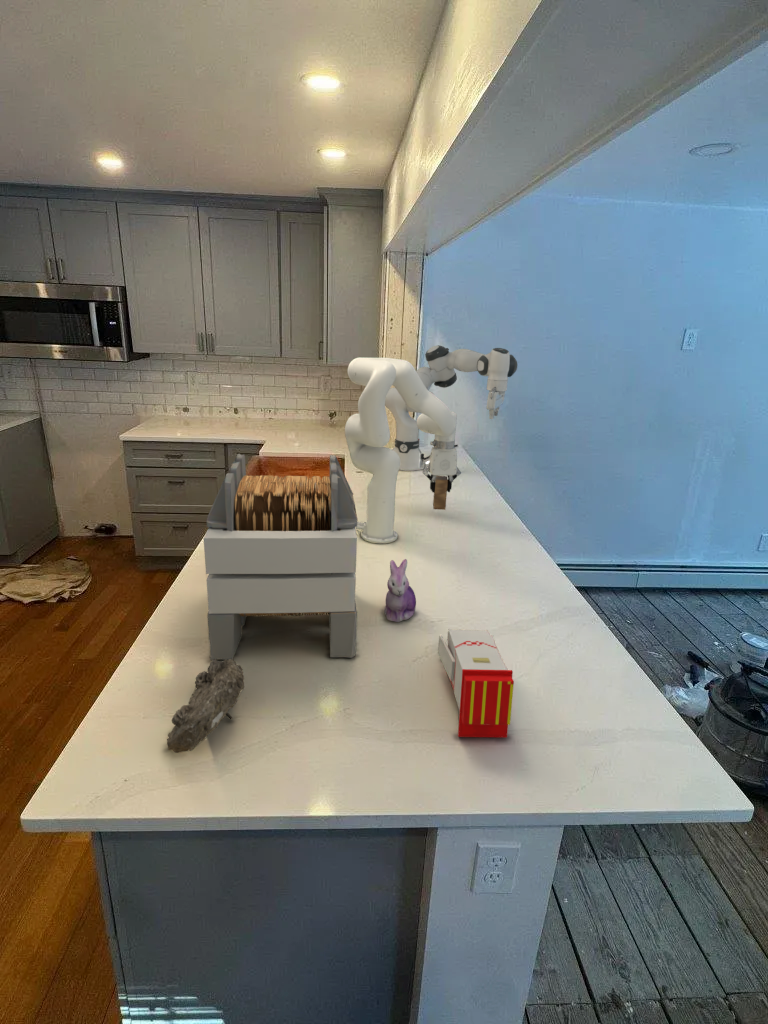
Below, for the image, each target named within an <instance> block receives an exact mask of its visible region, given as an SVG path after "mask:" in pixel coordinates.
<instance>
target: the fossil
mask: <svg viewBox="0 0 768 1024" xmlns="http://www.w3.org/2000/svg"><path fill="white" fill-rule="evenodd" d="M243 670H244V669H243V667H242V665H240V664H237V662H236V661H235V660H234V659H233V660H232V659H223V661H222V660H218V659H215V660H210V663H209V665H208V666H207V671H201V672H199V673H198V674H197V675H196V676H195V680H194V684H195V685H194V687H195V689H194V690H193V693H192V694H191V697H190V698H189V700H188V704H184V705H182V706H181V707H180V709H177V710H176V711H175V713H174V715H173V716H172V718H171V723H172V724H173V727H172V730H171V731H170V732H168V734H167V738H166V741H167V742H166V745H167V749H168V750H169V751H173V752H174V753H176V754H178V753H182V752H188V751H189V752H192V751H193V750H195V748H196V747H197V746H199V744H200V743H201V742H203V741H204V740H205V739H206V738H207V737H208V736H209V735H210V734H211V733H212V732H214V730H215V729H217V727H218V726H219V724H220V722H221V721H222V720H223V719H224V718H225V716H226V717H227V719H229V720H233V717H232V715H230V714H229V710H230V709H231V708H234V706H235V704H236V703H237V702H238V699H239V697H240V695H241V693H242V691H243V690H245V689H244V688H245V675H244V671H243Z"/></svg>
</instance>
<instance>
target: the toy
mask: <svg viewBox="0 0 768 1024" xmlns="http://www.w3.org/2000/svg"><path fill="white" fill-rule="evenodd" d="M446 640H447V643H446V641H445V639H444V636H443V635H442V634H439V637H438V646H437V656H438V657H439V659H440V661H441V663H442V666H443V668H444V670H445V672H446V674H447V677H448V679H449V681H450V684H451V687H452V690H453V693H454V697H455V701H456V705H457V708H458V711H459V714H458V715H459V716H458V730H457V731H458V732H457V737H458V738H508V731H509V726H510V725H511V717H512V707H513V697H514V696H513V695H514V684H515V680H514V679H513V673H514V671H513V670H512V669H508V667H507V665H506V662H505V661H504V659H503V658H502V655H501V653H500V651H499V649H498V647H497V643H496V639H495V637H494V635H493V634H491V632H490V631H489V629H467V628H466V629H465V628H463V629H461V628H460V629H459V628H448V630H447V639H446Z"/></svg>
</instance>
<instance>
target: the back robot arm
mask: <svg viewBox="0 0 768 1024" xmlns="http://www.w3.org/2000/svg"><path fill="white" fill-rule="evenodd" d="M424 355H425V360H426V362H427V363H428V364H427V365H428V367H427V366H421V367H419V368H417V370H416V372H417V374H418V375H419V377H420V379H421V380H422V382H423V384H424V385H425V387H426V389H427V390H428V391H430V392H431V393H432V394H434V392H433V391H431V390H430V389H431V387H432V386H433V385H434V386H435V387H439V388H443V389H445V388H449V387H451V386H453V385H454V384H455V383H456V382H457V380H458V377H457V372H455V370H456V371H459V372H461V373H473V372H475V373H476V372H477V373H478V374H479V375H480V376H482V377H487V383H486V390H487V391H488V395H487V399H486V400H487V401H486V410H488V415H489V417H488V419H489V420H494V418H495V417H498V416H499V411H500V407H501V406H502V405H503V403H504V401H505V395H506V392H507V390H508V382H509V378H511V377H512V376H514V374H515V373H516V372H517V371H518V361H517V359H516V357H515V356H514V355H513V354H510V351H509V350H508V349H506V348H502V347H495V348H492V349H491V351H490V352H488V353H487V354H486V353H481V352H478V351H475V350H472V349H469V348H459V349H455V350H453V351H450V349H449V348H448V347H445V346H443V345H441V344H440V345H438V344H437V345H433V346H431V347H429V349H427V350H426V352H425V354H424ZM385 408H387V409H388V411H390V412H391V414H392V416H393V418H394V421H395V439H394V447H393V448H392V450H394V451H395V452H396V453H397V454H398V455H399V457H400V467H399V471H406V472H412V471H420V470H422V471H424V470H425V465H427V464H428V465H429V460H428V459H430V455H427V456H426V457H425V454H424V453H422V451H421V449H420V438H419V437H420V435H419V434H420V429H419V428H418V427H417V420H416V419H414V418H413V417H411V415H410V413H419V414H421V413H420V412H418V411H416V410H414V409H412V408H411V407H409V406H408V405H407V404H406V403H405V401H404V400H403V398H402V397H401V395H400V394H399V392H398V391H397V389H396V388H395V387H391V388H390V389H389V391H388V393H387V396H386V398H385ZM458 446H459V444H454V448H456V447H458ZM425 460H428V461H425Z"/></svg>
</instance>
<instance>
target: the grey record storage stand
mask: <svg viewBox="0 0 768 1024" xmlns="http://www.w3.org/2000/svg"><path fill="white" fill-rule="evenodd" d="M246 468H247V467H246V456H245V454H241V453H237V454H236V456H235V459H234V461H232V463H231V466H230V468H229V470H228V472H227V473H226V474H225V476H224V479H223V481H222V484H221V485H220V488H219V490H218V492H217V495H216V496H215V499H214V501H213V504H212V506H211V508H210V509H209V512H208V515H207V518H206V528H207V530H206V532H205V534H204V536H203V549H204V564H205V565H204V567H205V574H206V575H207V577H206V591H207V592H206V593H207V594H206V595H207V607H208V610H207V615H206V617H207V634H208V641H209V651H210V656H209V659H210V661H212V660H227V659H228V660H231V659H232V660H234V658H235V654H236V651H237V649H238V647H239V645H240V642H241V639H242V637H243V627H244V626H245V625H246V624H245V623H246V620H247V617H267V616H268V617H271V616H272V617H273V616H275V617H276V616H277V617H278V616H279V617H280V616H281V617H286V616H295V617H296V616H300V617H301V616H318V615H319V616H321V615H322V616H323V615H326V616H328V625H329V657H330V658H350V659H352V658H354V657H355V656H356V655H357V630H358V628H357V626H358V625H357V624H358V610H357V602H356V587H357V586H356V585H357V583H356V582H357V577H356V573H357V551H358V550H357V549H358V548H357V547H358V536H357V529H356V526H357V522H359V521H358V515H357V509H356V503H355V498H354V493H353V490H352V487H351V486H350V484H349V481H348V479H347V477H346V475H345V473H344V471H343V469H342V467H341V464H340V462H339V459H338V458H337V455H336V454H329V475H325V476H322V477H321V476H319V475H313V476H312V477H309V476H307V475H284V476H281V475H280V476H279V475H275V476H274V475H251V474H250V475H247V469H246Z"/></svg>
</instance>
